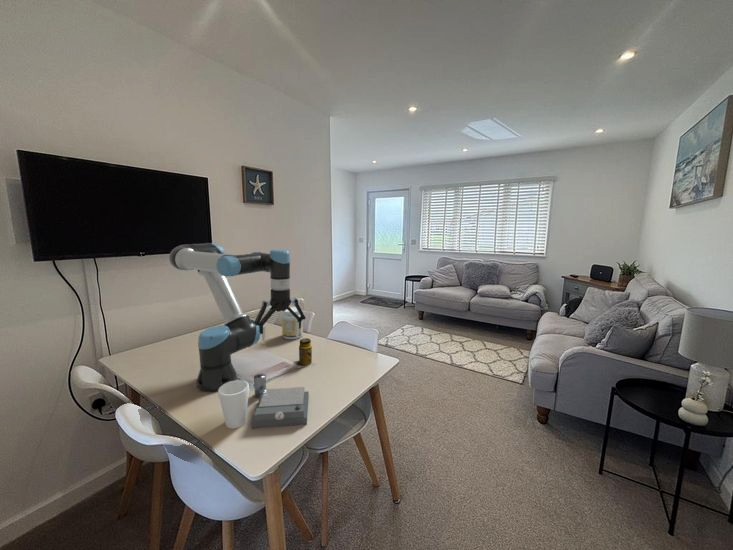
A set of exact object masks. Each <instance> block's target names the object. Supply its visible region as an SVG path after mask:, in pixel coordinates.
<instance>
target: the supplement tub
mask: <svg viewBox="0 0 733 550" xmlns="http://www.w3.org/2000/svg"><path fill="white" fill-rule="evenodd" d="M289 307H290V306H289ZM290 308H291V309H292V310H293V311H294V312H295V313H296V314H297V315H298V316H299V317H301V316H300V314H299V312H298V310H297V308H296V307H295V306H291V307H290ZM295 320H297V319H296V318H295V317H294V316H293V315H292V314H291V313H290V312H289V311H288V310H287V309H286V310H285V311H282V316H281V323H282V325H281V328H282V331H281V332H282V337H283V338H284V339H285V340H298V339H300V338H301V337H302V336H303V334H304V328H303V327H304V324H303V321H304V319H303V320H302V322H301V328H299V337H297V336H296V335H295Z"/></svg>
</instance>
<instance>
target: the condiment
mask: <svg viewBox="0 0 733 550" xmlns="http://www.w3.org/2000/svg"><path fill="white" fill-rule="evenodd" d="M311 342H312V340H311V338H305V337H304V338H301V339H300V340H299V346H298V358H299V359H298V360H296V361H295V360H294V361H292V363H293V364H294V366H295V367H296V368H297V369H300V368H304V367H309V366H313V365H315V363H314V362H313V361H312V355H313V354H312V353H313V352H312V351H313V348H312V347H313V346H312V343H311Z"/></svg>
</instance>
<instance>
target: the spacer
mask: <svg viewBox="0 0 733 550" xmlns="http://www.w3.org/2000/svg"><path fill="white" fill-rule="evenodd" d="M266 377H267V375H266V374H265V373H257V374H254V376H253V386H254V387H253V388H254V390H253V391H254V397H255V398H257V399H260V396H261V395H262V394H263V393H264V390H265V389H267V378H266Z"/></svg>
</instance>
